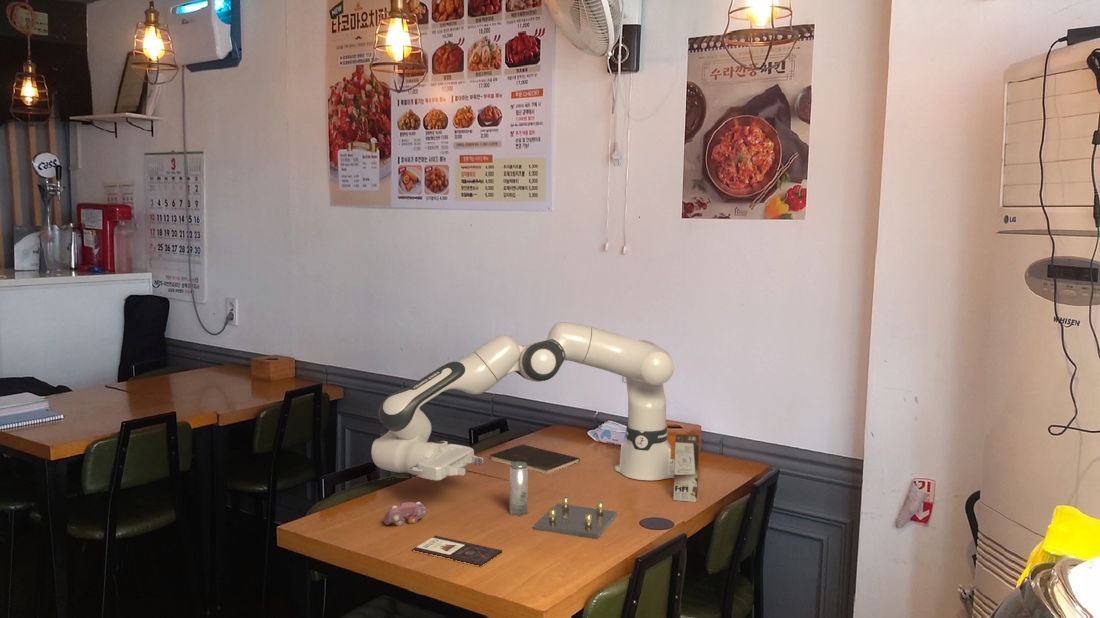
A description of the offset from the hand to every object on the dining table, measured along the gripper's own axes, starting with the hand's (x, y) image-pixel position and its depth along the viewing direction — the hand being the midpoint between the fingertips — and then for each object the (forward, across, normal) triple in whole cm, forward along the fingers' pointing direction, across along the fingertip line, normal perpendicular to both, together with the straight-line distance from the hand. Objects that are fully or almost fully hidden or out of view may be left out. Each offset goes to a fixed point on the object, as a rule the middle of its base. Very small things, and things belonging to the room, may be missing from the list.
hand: (474, 466), depth 211 cm
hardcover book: (0, +43, +11) cm, 45 cm away
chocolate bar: (+10, -28, +11) cm, 32 cm away
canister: (+13, 0, +10) cm, 16 cm away
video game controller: (-10, -17, +11) cm, 23 cm away
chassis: (+29, -1, +10) cm, 30 cm away
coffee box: (+50, +29, +10) cm, 58 cm away
